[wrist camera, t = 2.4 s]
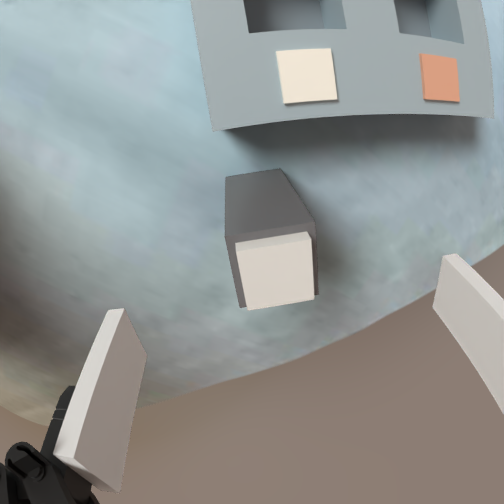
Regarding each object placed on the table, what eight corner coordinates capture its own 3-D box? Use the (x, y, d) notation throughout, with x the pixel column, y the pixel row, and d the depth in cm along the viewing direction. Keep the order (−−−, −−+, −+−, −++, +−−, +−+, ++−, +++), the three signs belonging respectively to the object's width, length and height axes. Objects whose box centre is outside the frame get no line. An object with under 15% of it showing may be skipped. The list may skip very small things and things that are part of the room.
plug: (234, 226, 24) (240, 318, 15) (225, 177, 23) (224, 244, 13) (285, 218, 24) (322, 304, 15) (279, 168, 22) (319, 229, 13)
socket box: (215, 123, 21) (212, 132, 16) (188, -47, 14) (178, -79, 9) (455, 109, 20) (496, 119, 16) (432, -36, 14) (468, -50, 9)
